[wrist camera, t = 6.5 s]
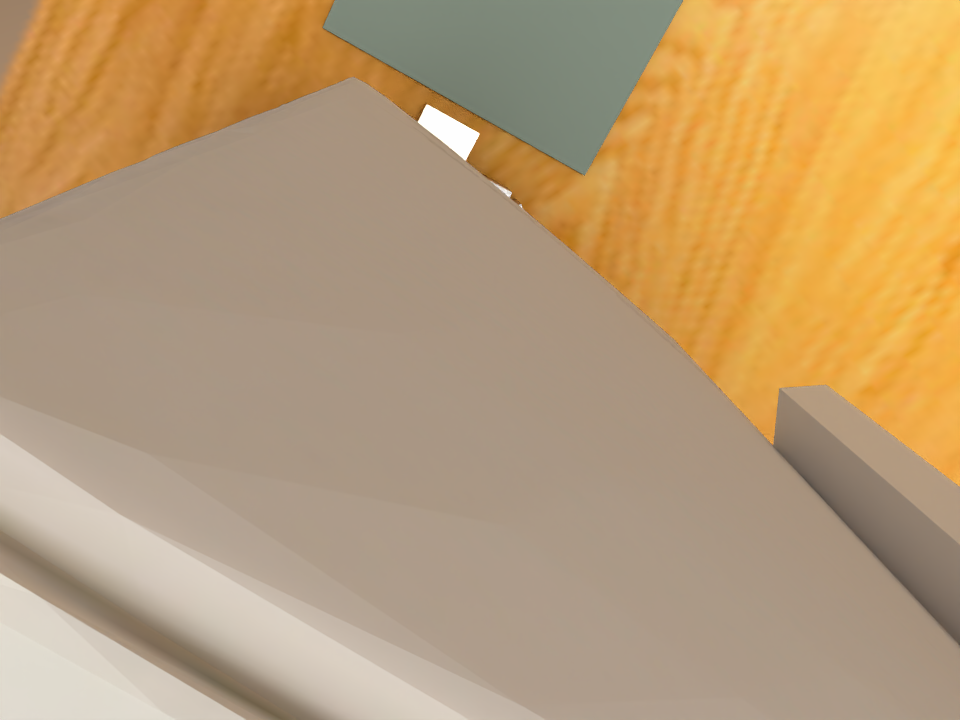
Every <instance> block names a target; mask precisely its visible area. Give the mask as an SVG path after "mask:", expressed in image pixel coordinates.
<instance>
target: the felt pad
mask: <svg viewBox="0 0 960 720" xmlns="http://www.w3.org/2000/svg"><path fill="white" fill-rule="evenodd" d="M682 2H683V0H335V1H334V3H333V6H332V8H331V10H330V12H329V15H328V17H327V19H326V21H325V24H324V26H323V28H324V29H326V30H327V31H329V32H331V33H333V34H334V35H336V36H338V37H340V38H342V39H343V40H345V41H347V42H349V43H350V44H352V45H354V46H356V47H357V48H359V49H361V50H363V51H365V52H366V53H368V54H370V55H372V56H373V57H375V58H377V59H379V60H381V61H382V62H384V63H386V64H388V65H389V66H391V67H393V68H395V69H397V70H398V71H400V72H402V73H404V74H405V75H407V76H409V77H411V78H412V79H414V80H416V81H418V82H420V83H421V84H423V85H425V86H427V87H428V88H430V89H432V90H434V91H436V92H437V93H439V94H441V95H443V96H444V97H446V98H448V99H450V100H452V101H453V102H455V103H457V104H459V105H460V106H462V107H464V108H466V109H467V110H469V111H471V112H473V113H475V114H476V115H478V116H480V117H482V118H483V119H485V120H487V121H489V122H491V123H492V124H494V125H496V126H498V127H499V128H501V129H503V130H505V131H507V132H508V133H510V134H512V135H514V136H515V137H517V138H519V139H521V140H522V141H524V142H526V143H528V144H530V145H531V146H533V147H535V148H537V149H538V150H540V151H542V152H544V153H546V154H547V155H549V156H551V157H553V158H554V159H556V160H558V161H560V162H562V163H563V164H565V165H567V166H569V167H570V168H572V169H574V170H576V171H577V172H579V173H581V174H583V175H585V174H586V172H587V171H588V169H589V167H590V165H591V164H592V162H593V160H594V158H595V156H596V155H597V153H598V151H599V149H600V148H601V146H602V144H603V142H604V140H605V139H606V137H607V135H608V133H609V132H610V130H611V128H612V126H613V124H614V123H615V121H616V119H617V117H618V115H619V114H620V112H621V110H622V108H623V107H624V105H625V103H626V101H627V99H628V98H629V96H630V94H631V92H632V91H633V89H634V87H635V85H636V83H637V82H638V80H639V78H640V76H641V75H642V73H643V71H644V69H645V67H646V66H647V64H648V62H649V60H650V59H651V57H652V55H653V53H654V51H655V50H656V48H657V46H658V44H659V43H660V41H661V39H662V37H663V35H664V34H665V32H666V30H667V28H668V26H669V25H670V23H671V21H672V19H673V18H674V16H675V14H676V12H677V10H678V9H679V7H680V5H681V3H682Z"/></svg>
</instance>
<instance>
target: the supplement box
mask: <svg viewBox="0 0 960 720" xmlns="http://www.w3.org/2000/svg"><path fill="white" fill-rule="evenodd" d="M0 720H960V645H959V644H958V643H957V642H956V641H955V640H954V638H953V637H952V636H951V635H950V634H949V633H948V632H947V631H946V630H945V629H944V628H943V627H942V626H941V625H940V624H939V622H938V621H937V620H936V619H935V618H934V617H933V616H932V615H931V614H930V613H929V612H928V611H927V610H926V609H925V608H924V607H923V605H922V604H921V603H920V602H919V601H918V600H917V599H916V598H915V597H914V596H913V595H912V594H911V593H910V592H909V591H908V589H907V588H906V587H905V586H904V585H903V584H902V583H901V582H900V581H899V580H898V579H897V578H896V577H895V576H894V575H893V573H892V572H891V571H890V570H889V569H888V568H887V567H886V566H885V565H884V564H883V563H882V562H881V561H880V560H879V558H878V557H877V556H876V555H875V554H874V553H873V552H872V551H871V550H870V549H869V548H868V547H867V546H866V545H865V544H864V542H863V541H862V540H861V539H860V538H859V537H858V536H857V535H856V534H855V533H854V532H853V531H852V530H851V529H850V527H849V526H848V525H847V524H846V523H845V522H844V521H843V520H842V519H841V518H840V517H839V516H838V515H837V514H836V512H835V511H834V510H833V509H832V508H831V507H830V506H829V505H828V504H827V503H826V502H825V501H824V500H823V499H822V498H821V496H820V495H819V494H818V493H817V492H816V491H815V490H814V489H813V488H812V487H811V486H810V485H809V484H808V483H807V481H806V480H805V479H804V478H803V477H802V476H801V475H800V474H799V473H798V472H797V471H796V470H795V469H794V468H793V466H792V465H791V464H790V463H789V462H788V461H787V460H786V459H785V458H784V457H783V456H782V455H781V454H780V453H779V452H778V450H777V449H776V448H775V447H774V446H773V445H772V444H771V443H770V442H769V441H768V440H767V439H766V438H765V437H764V435H763V434H762V433H761V432H760V431H759V430H758V429H757V428H756V427H755V426H754V425H753V424H752V423H751V422H750V421H749V419H748V418H747V417H746V416H745V415H744V414H743V413H742V412H741V411H740V410H739V409H738V408H737V407H736V406H735V405H734V404H733V402H732V401H731V400H730V399H729V398H728V397H727V396H726V395H725V394H724V393H723V392H722V391H721V390H720V388H719V387H718V386H717V385H716V384H715V383H714V382H713V381H712V380H711V379H710V378H709V377H708V376H707V375H706V373H705V372H704V371H703V370H702V369H701V368H700V367H699V366H698V365H697V364H696V363H695V362H694V361H693V360H692V358H691V357H690V356H689V355H688V354H687V353H686V352H685V351H684V350H683V349H682V348H681V347H680V346H679V344H678V343H677V342H676V341H675V340H674V339H673V338H671V337H670V336H669V335H668V334H667V333H666V332H665V331H664V330H663V329H661V328H660V327H659V326H658V325H657V324H656V323H655V322H654V321H652V320H651V319H650V318H649V317H648V316H647V315H646V314H644V313H643V312H642V311H641V310H640V309H639V308H637V307H636V306H635V305H634V304H633V303H632V302H631V301H629V300H628V299H627V298H626V297H625V296H624V295H623V294H621V293H620V292H619V291H618V290H617V289H616V288H615V287H613V286H612V285H611V284H610V283H609V282H608V281H607V280H605V279H604V278H603V277H602V276H601V275H600V274H598V273H597V272H596V271H595V270H594V269H593V268H592V267H590V266H589V265H588V264H587V263H586V262H585V261H583V260H582V259H581V258H580V257H579V256H578V255H577V254H575V253H574V252H573V251H572V250H571V249H570V248H568V247H567V246H566V245H565V244H564V243H563V242H561V241H560V240H559V239H558V238H557V237H556V236H554V235H553V234H552V233H551V232H550V231H548V230H547V229H546V228H545V227H544V226H543V225H541V224H540V223H539V222H538V221H537V220H535V219H534V218H533V217H532V216H531V215H530V214H528V213H527V212H526V211H525V210H524V209H522V208H521V207H520V206H519V205H518V204H517V203H515V202H514V201H513V200H512V199H511V198H509V197H508V196H507V195H506V194H505V193H503V192H502V191H501V190H500V189H499V188H498V187H496V186H495V185H494V184H493V183H492V182H490V181H489V180H488V179H487V178H486V177H484V176H483V175H482V174H481V173H480V172H478V171H477V170H476V169H475V168H474V167H473V166H471V165H470V164H469V163H468V162H467V161H465V160H464V159H463V158H462V157H461V156H459V155H458V154H457V153H456V152H455V151H454V150H452V149H451V148H450V147H449V146H447V145H446V144H445V143H444V142H442V141H441V140H440V139H438V138H437V137H436V136H435V135H433V134H432V133H431V132H430V131H428V130H427V129H426V128H424V127H423V126H422V125H421V124H419V123H418V122H417V121H416V120H414V119H413V118H412V117H410V116H409V115H408V114H407V113H405V112H404V111H403V110H402V109H400V108H399V107H398V106H396V105H395V104H394V103H393V102H391V101H390V100H389V99H388V98H386V97H385V96H384V95H382V94H381V93H379V92H378V91H376V90H375V89H374V88H372V87H371V86H369V85H368V84H366V83H365V82H363V81H361V80H359V79H357V78H355V77H351V78H348V79H346V80H344V81H341V82H339V83H337V84H334V85H331V86H329V87H327V88H324V89H322V90H319V91H316V92H314V93H311V94H309V95H306V96H303V97H301V98H299V99H296V100H294V101H292V102H289V103H287V104H283V105H281V106H279V107H278V108H275V109H272V110H269V111H266V112H263V113H261V114H258V115H255V116H252V117H250V118H247V119H245V120H242V121H240V122H238V123H235V124H233V125H230V126H228V127H226V128H223V129H221V130H219V131H216V132H214V133H211V134H208V135H206V136H203V137H200V138H197V139H195V140H192V141H189V142H187V143H184V144H181V145H179V146H176V147H174V148H171V149H169V150H166V151H164V152H161V153H159V154H156V155H154V156H152V157H150V158H148V159H146V160H145V161H142V162H139V163H136V164H134V165H131V166H128V167H125V168H123V169H120V170H117V171H114V172H112V173H109V174H107V175H105V176H102V177H100V178H97V179H95V180H93V181H90V182H88V183H85V184H83V185H81V186H78V187H76V188H74V189H71V190H69V191H66V192H64V193H62V194H59V195H57V196H54V197H52V198H50V199H47V200H45V201H42V202H40V203H38V204H35V205H33V206H30V207H28V208H26V209H23V210H21V211H19V212H16V213H14V214H11V215H9V216H6V217H4V218H1V219H0Z"/></svg>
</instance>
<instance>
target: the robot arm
mask: <svg viewBox="0 0 960 720" xmlns="http://www.w3.org/2000/svg"><path fill="white" fill-rule="evenodd" d="M773 446H774V447H775V448H776V449H777V450H778V452H779V453H780V454H781V455H782V456H783V457H784V458H785V459H786V460H787V461H788V462H789V463H790V464H791V465H792V466H793V468H794V469H795V470H796V471H797V472H798V473H799V474H800V475H801V476H802V477H803V478H804V479H805V480H806V481H807V483H808V484H809V485H810V486H811V487H812V488H813V489H814V490H815V491H816V492H817V493H818V494H819V495H820V496H821V498H822V499H823V500H824V501H825V502H826V503H827V504H828V505H829V506H830V507H831V508H832V509H833V510H834V511H835V512H836V514H837V515H838V516H839V517H840V518H841V519H842V520H843V521H844V522H845V523H846V524H847V525H848V526H849V527H850V529H851V530H852V531H853V532H854V533H855V534H856V535H857V536H858V537H859V538H860V539H861V540H862V541H863V542H864V544H865V545H866V546H867V547H868V548H869V549H870V550H871V551H872V552H873V553H874V554H875V555H876V556H877V557H878V558H879V560H880V561H881V562H882V563H883V564H884V565H885V566H886V567H887V568H888V569H889V570H890V571H891V572H892V573H893V575H894V576H895V577H896V578H897V579H898V580H899V581H900V582H901V583H902V584H903V585H904V586H905V587H906V588H907V589H908V591H909V592H910V593H911V594H912V595H913V596H914V597H915V598H916V599H917V600H918V601H919V602H920V603H921V604H922V605H923V607H924V608H925V609H926V610H927V611H928V612H929V613H930V614H931V615H932V616H933V617H934V618H935V619H936V620H937V621H938V622H939V624H940V625H941V626H942V627H943V628H944V629H945V630H946V631H947V632H948V633H949V634H950V635H951V636H952V637H953V638H954V640H955V641H956V642H957V643H958V644H959V645H960V487H959V486H958V485H957V484H955V483H954V482H953V481H951V480H950V479H949V478H947V477H946V476H945V475H944V474H942V473H941V472H940V471H938V470H937V469H936V468H934V467H933V466H932V465H930V464H929V463H928V462H927V461H925V460H924V459H923V458H921V457H920V456H919V455H917V454H916V453H915V452H914V451H912V450H911V449H910V448H908V447H907V446H906V445H904V444H903V443H902V442H900V441H899V440H898V439H897V438H895V437H894V436H893V435H891V434H890V433H889V432H887V431H886V430H885V429H883V428H882V427H881V426H880V425H878V424H877V423H876V422H874V421H873V420H872V419H870V418H869V417H868V416H866V415H865V414H864V413H863V412H861V411H860V410H859V409H857V408H856V407H855V406H853V405H852V404H851V403H849V402H848V401H847V400H846V399H844V398H843V397H842V396H840V395H839V394H838V393H836V392H835V391H834V390H832V389H831V388H830V387H829V386H827V385H818V386H804V387H789V388H780V389H779V398H778V407H777V416H776V425H775V435H774V444H773Z"/></svg>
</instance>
